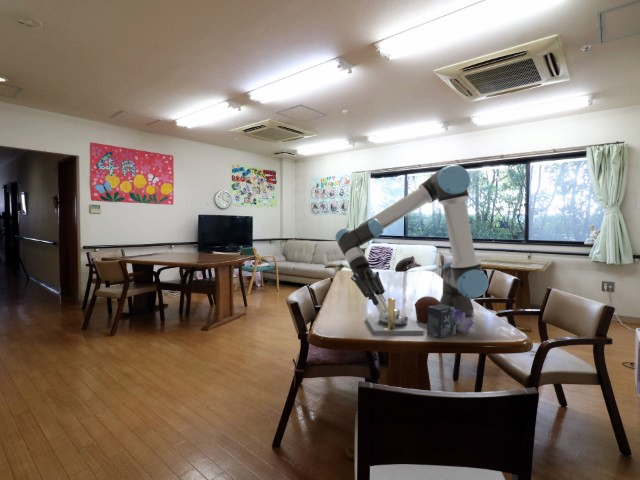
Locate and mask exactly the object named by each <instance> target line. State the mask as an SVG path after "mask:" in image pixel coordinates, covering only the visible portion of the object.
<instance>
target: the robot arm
mask: <svg viewBox="0 0 640 480" xmlns="http://www.w3.org/2000/svg"><path fill="white" fill-rule="evenodd" d="M470 181H471V177H470V173H469V172H468V170H467V169H466V168H464V167H463V166H461V165H457V164H451V165H447V166H444V167H442V168H441V169H439V170H438V171H436V172H435V173H433V174H432V175H431V176H430V177H429V178H427V179H426V180H425V181H424V182H422V183H421V184H419V185H418V188H417V189H415V190H413V191H412V192H411V193H409V194H407V195H406V196H404V197H403V198H401V199H399V200H397V201H396V202H395V203H393V204H391V205H389V206H388V207H386V208H385V209H383V210H381V211H380V212H378V213H377V214H376V215H374V216H372V217H370V218H369V219H367V220H366V221H364V222H362V223H360V224H359V225H358V227H356V228H354V229H352V230H351V229H350V228H348V227H345V228H341V229H340V230H338V231H337V233H336V234H335V236H334V237H335V241H336V243H337V245H338V247H339V249H340V250H341V253H342V254H343V256H344V258H345V260H346V262H347V264H348V265H349V268H350V270H351V272H352V273H353V274H352V276H351V277H350V279H351V280H352V281H353V282H354V283H355V285H356V286H357V288H358V289H359V291H360V292H361V293H362V295H363V296H364V297H365V298H368V300H371V302H372V304H373V305H374V306H375V307H376V309H377V311H378V313H379V314H382V313H386V312H387V311H388V303H387V302H386V298H385V297H384V296H383V294H384V293H385V292H386V290H385V288H384V285H383V282H382V281H381V278H380V273H379V271H373V270H372V268H371V267H370V263H369V260H368V258H367V257H366V255H365V254H364V251H363V250H362V248H361V246H363V245H365V244H367V243H369V242H370V241H372V240H374V239H375V238H379V236H381V235H383V234H384V230H386V229H387V228H388V227H390V226H391V225H392V226H393V224H395V223H397V222H398V221H400V220H402V219H403V218H405V217H407V216H409V215H410V214H411V213H413V212H414V211H417V210H418V209H419V208H421V207H422V206H424V205H426V204H432V203H434V202H435V201H438V203H440V205H442V206H443V212H444V216H445V217H444V218H445V222H446V228H447V233H448V239H449V245H450V250H451V254H452V255H451V256H452V261H446V262H444V263H443V267H442V294H441V297H440V300H439V302H440V303H441V304H443V305H447V306H451V307H454V308H455V310H457V311H458V310H459V311H461V313H464V312H465V317H470V316H469V315H471V316H473V315H474V312H475V309H474V306H473V302H472V299H475V298H478V297H479V298H480V297H481V296H482V295H483V294H484V293H485V292H486V291H487V290H488V287H489V278H488V277H487V275H486V273H485V272H484V271H483V269H482V268H483V267H482V264H481V261H480V260H478V258H477V257H476V252H475V247H474V242H473V235H472V231H471V230H472V229H471V225H470V221H469V213H468V209H467V208H468V207H467V203H466V200H467V199H468V198H469V190H468V188H469V186H470ZM472 314H473V315H472Z"/></svg>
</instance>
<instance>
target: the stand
mask: <svg viewBox="0 0 640 480" xmlns="http://www.w3.org/2000/svg"><path fill="white" fill-rule="evenodd" d="M407 317H408V322H407V324H405V325H399V326H395V327H394V329H393V330H390V329H388V325H387V324H383V323H381V322H379V316H376V317H375V316H374V317H373V316H372V317H371V316H367V317H365V322H366V324H367V326H368V327H369V329H370V331H371V332H372V334H373V335H374V336H410V335H411V336H423V335H424V330H423V329H422V328H421V327H420V326H419V325H418V324H417V323H416V322H415V321H414V320H412V318H410V317H409V316H407Z"/></svg>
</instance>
